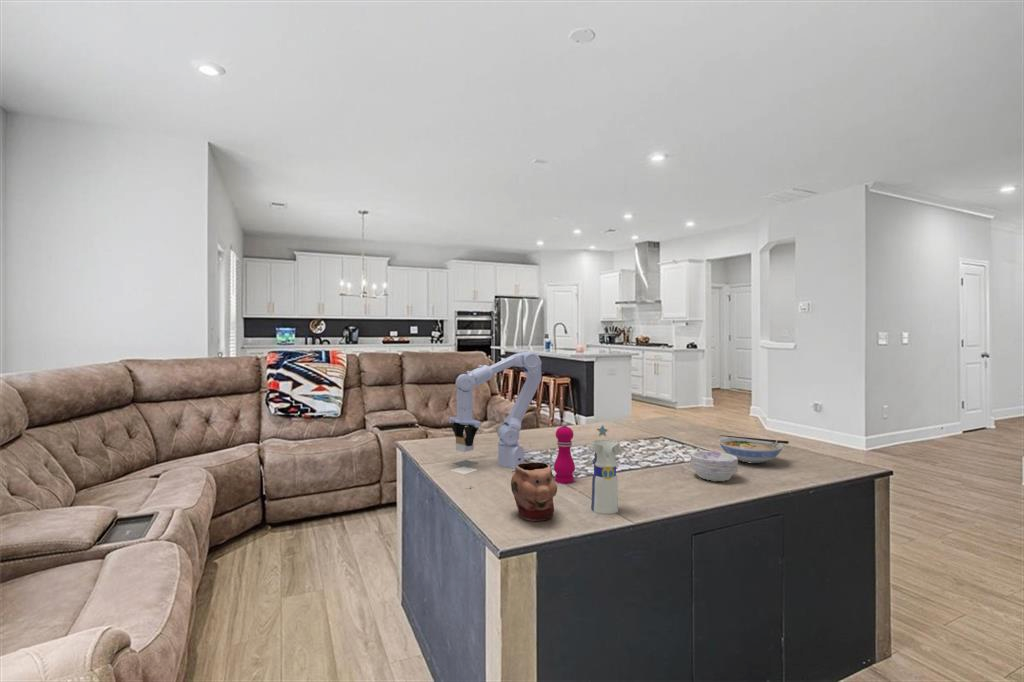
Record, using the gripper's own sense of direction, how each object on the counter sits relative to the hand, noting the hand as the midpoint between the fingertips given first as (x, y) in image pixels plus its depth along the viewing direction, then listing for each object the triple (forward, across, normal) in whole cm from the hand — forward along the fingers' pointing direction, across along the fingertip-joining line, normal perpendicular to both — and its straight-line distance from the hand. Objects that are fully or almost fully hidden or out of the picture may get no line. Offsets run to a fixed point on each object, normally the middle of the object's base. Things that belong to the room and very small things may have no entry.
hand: (464, 444), depth 182 cm
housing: (+2, 0, 0) cm, 2 cm away
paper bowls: (+10, +72, +50) cm, 88 cm away
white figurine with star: (+10, +59, -1) cm, 59 cm away
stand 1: (+9, -4, +4) cm, 11 cm away
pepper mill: (+10, +34, +14) cm, 38 cm away
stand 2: (+9, +3, -3) cm, 10 cm away
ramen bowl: (+10, +75, +81) cm, 111 cm away
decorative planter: (+10, +45, -17) cm, 49 cm away
